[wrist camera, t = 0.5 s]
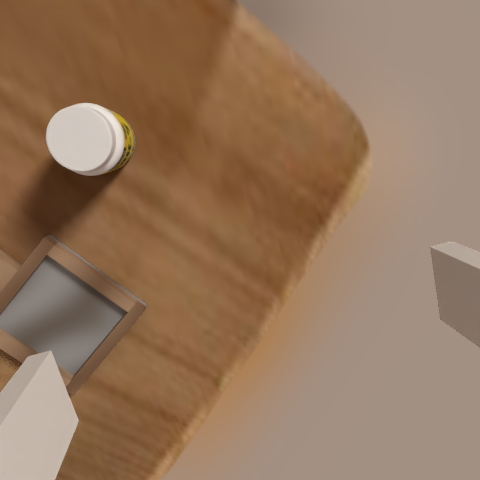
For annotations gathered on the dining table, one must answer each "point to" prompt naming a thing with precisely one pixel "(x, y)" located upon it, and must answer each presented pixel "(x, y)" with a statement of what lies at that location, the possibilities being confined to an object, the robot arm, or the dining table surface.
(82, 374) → the wooden tray with handle
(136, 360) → the dining table surface
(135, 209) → the dining table surface
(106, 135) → the supplement bottle
